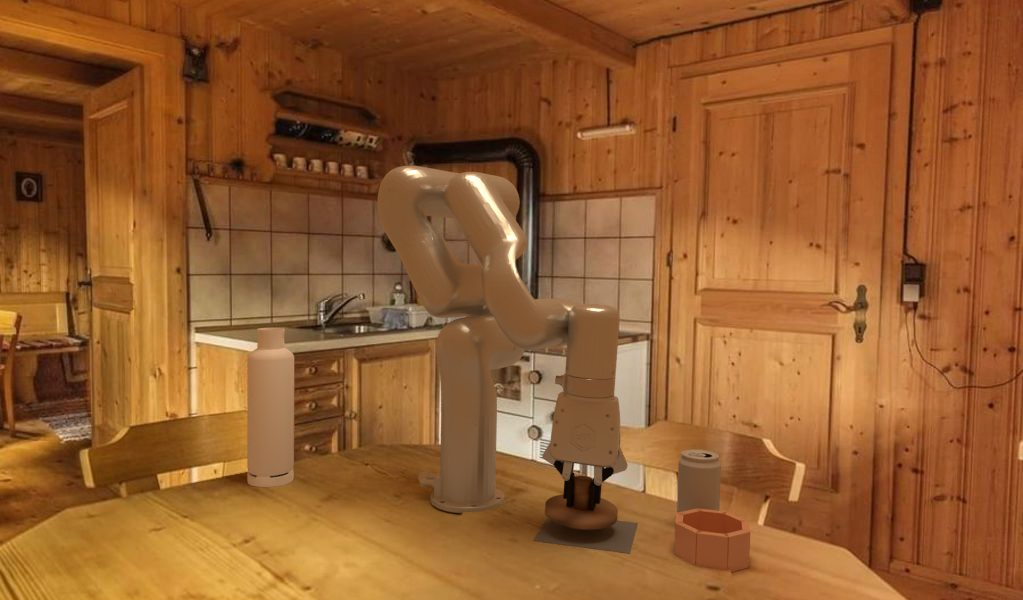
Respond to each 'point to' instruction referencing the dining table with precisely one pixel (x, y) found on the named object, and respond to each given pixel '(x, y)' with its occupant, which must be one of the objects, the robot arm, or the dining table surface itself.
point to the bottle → (270, 410)
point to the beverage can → (698, 480)
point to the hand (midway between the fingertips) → (581, 504)
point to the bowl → (712, 539)
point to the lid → (581, 508)
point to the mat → (590, 536)
